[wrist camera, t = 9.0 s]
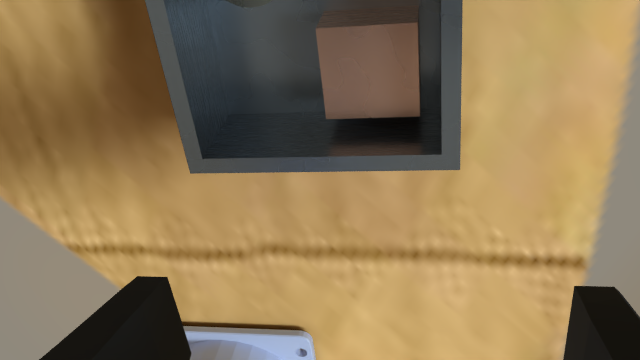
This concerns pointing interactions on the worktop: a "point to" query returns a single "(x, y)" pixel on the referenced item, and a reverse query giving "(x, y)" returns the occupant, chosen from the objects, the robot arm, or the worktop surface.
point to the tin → (313, 83)
